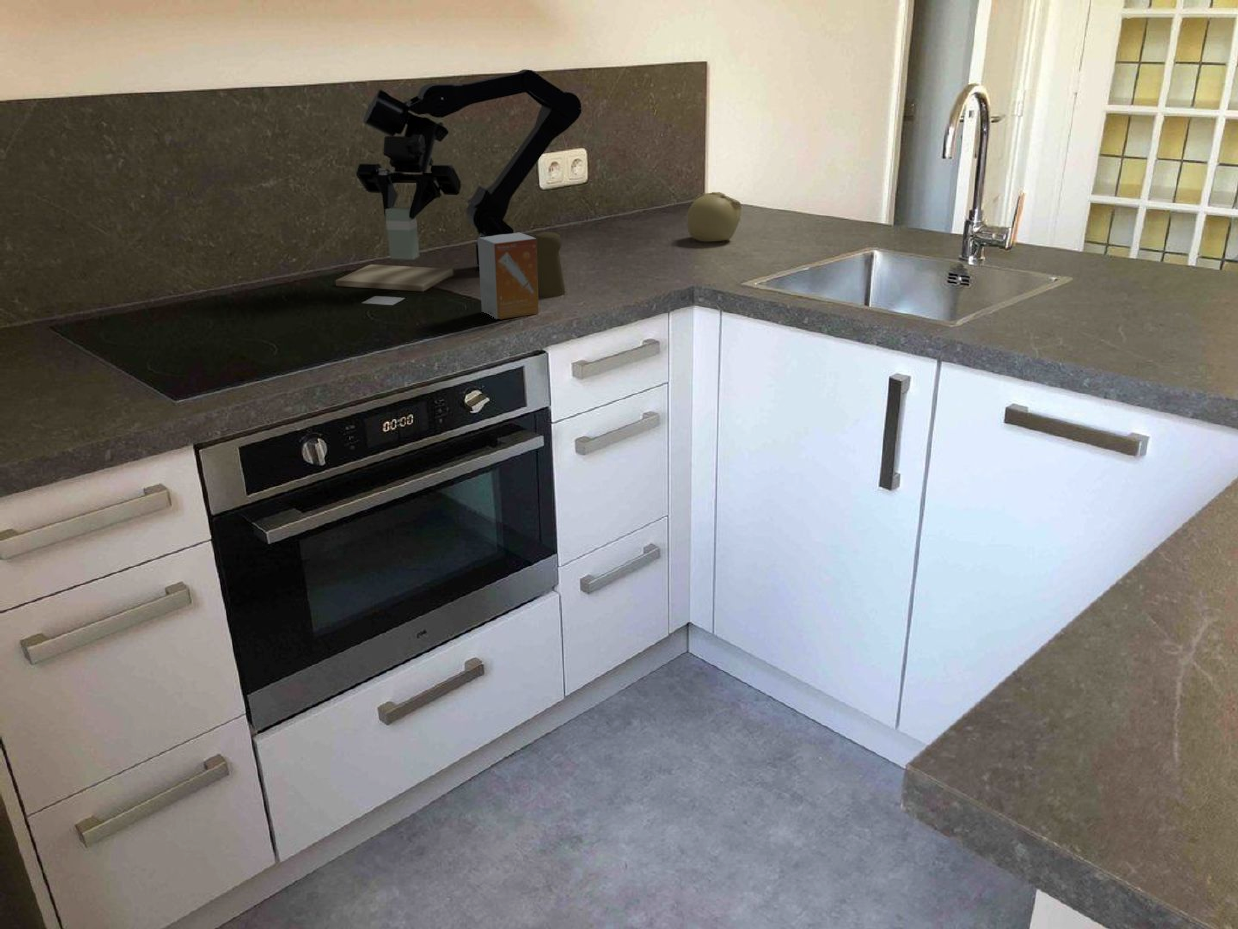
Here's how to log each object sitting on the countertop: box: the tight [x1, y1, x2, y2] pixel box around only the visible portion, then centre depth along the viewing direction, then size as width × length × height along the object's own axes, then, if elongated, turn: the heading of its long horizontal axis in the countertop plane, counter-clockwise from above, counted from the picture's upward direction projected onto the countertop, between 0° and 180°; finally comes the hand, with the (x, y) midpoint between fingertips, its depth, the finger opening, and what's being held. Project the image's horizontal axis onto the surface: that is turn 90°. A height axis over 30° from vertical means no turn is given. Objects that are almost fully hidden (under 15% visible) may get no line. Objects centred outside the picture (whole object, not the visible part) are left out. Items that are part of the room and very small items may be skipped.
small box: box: [477, 232, 540, 320], centre depth 168 cm, size 8×6×13 cm
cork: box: [533, 231, 566, 298], centre depth 181 cm, size 6×6×11 cm
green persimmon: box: [686, 191, 742, 243], centre depth 224 cm, size 11×12×11 cm
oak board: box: [334, 264, 454, 292], centre depth 192 cm, size 18×14×1 cm
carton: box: [385, 206, 420, 261], centre depth 183 cm, size 5×3×9 cm
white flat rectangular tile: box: [361, 295, 405, 306], centre depth 178 cm, size 6×5×1 cm
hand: (398, 217), depth 181 cm, fingers closed on carton, 4 cm apart
